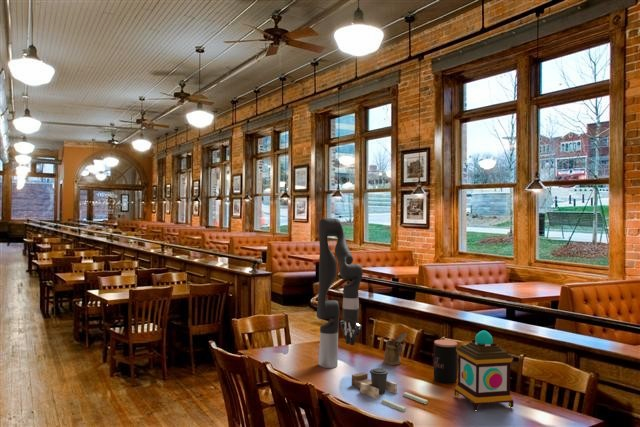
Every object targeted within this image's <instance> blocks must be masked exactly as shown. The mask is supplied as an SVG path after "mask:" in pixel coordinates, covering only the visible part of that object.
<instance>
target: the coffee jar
mask: <svg viewBox="0 0 640 427" xmlns="http://www.w3.org/2000/svg"><path fill="white" fill-rule="evenodd" d="M433 342H434V347H433V379H434V381H436V382H437V383H440V384H445V385H446V384H447V385H451V384H455V383H456V381H458V353H457V351H456V348H458V342H457V341H455V340H451V339H436V340H434V341H433Z"/></svg>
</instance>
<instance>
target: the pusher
mask: <svg viewBox="0 0 640 427" xmlns="http://www.w3.org/2000/svg"><path fill="white" fill-rule="evenodd" d="M368 375H369V374H368V373H367V372H363V371H362V372H357V373H354V374H351V386H353V387H356V388H358V389H360V386H361V383H365V384H368V385H370V386H372V381H371V379H370V378H368Z"/></svg>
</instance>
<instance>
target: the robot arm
mask: <svg viewBox="0 0 640 427" xmlns="http://www.w3.org/2000/svg"><path fill="white" fill-rule="evenodd" d="M328 237H336V239H337V242H336V244H335V247H334V253H333V252H332V249H331V248H330V246H329V240H328ZM318 240H319V241H318V243H319V257H318V261H319V262H318V295H317V304H316V305H317V307H316V311H317V317H318V318H319V319H320V320H329V321H328V322H326V323H324V324H322V325H320V328H319V345H318V365H319V366H320V367H321V368H325V369H333V368H337V367H338V358H339V356H338V355H339V350H338V349H339V348H338V347H339V325H340V329H341V333H342V334H344V336H345V338H344V339H345V344H346V345H349V346H355V342H356V337H359V335H360V332H361V330H362V328H363V325H361V324H359V320H358V318H359V316H360V315H359V314H360V312H359V311H360V306H359V305H360V300H359V289H360V284H361V281H362V277H363V267H362V266H361V264H359V263H353V262H354V258H353V254H352V252H351V251H350V248H349V246H348V242H347V238H346V235H345V231H344V228H343V224H342V222H341V220H340V219H338V218H334V217H333V218H332V217H330V218H329V217H328V218H326V217H324V218H321V219H320V220H319V222H318ZM337 261H338V262H337ZM338 266H339V275H340V277H341V279H343V280H346V281H347V280H351V282H350V283H348V284H345V285H343V293H342V295H343V298H342V318H343V319H342V320H340V304H339V301H338V300H330V299H329V300H327V295H328V292H329V290H330V287H331V286H332V285H333V283H334V281H335V280H336V278H337V275H338Z"/></svg>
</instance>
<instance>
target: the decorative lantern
mask: <svg viewBox="0 0 640 427" xmlns="http://www.w3.org/2000/svg"><path fill="white" fill-rule="evenodd" d="M493 339H494V338H493V336H492V334H491V333H490V332H488V331H487V330H481V331H479V332H478V333H477V334H476V335H475V338H474V339H473V340H471V341H470V342H468V343H466V344H461V345H460V346H457V348H456V351H457V384H456V386H455V388H454V397H455V396H458V397H459V396H462V397H464V398H465V399H466V400H468V401H469V402H471V403H472V405H473V410H474V411H475V410H477V411H478V409H479V406H480V405H490V404H491V405H492V404H504V403H508V407H509V406H510V407H513V408H514V402H515V401H514V398H513V396H512V395H511V363H512V362H513V360H514V357H513V356H512V355H511V354H510V353H508V351H506V350H505V349H502V348H501V347H499V346H498V345H497V344H496V342H493Z"/></svg>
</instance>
